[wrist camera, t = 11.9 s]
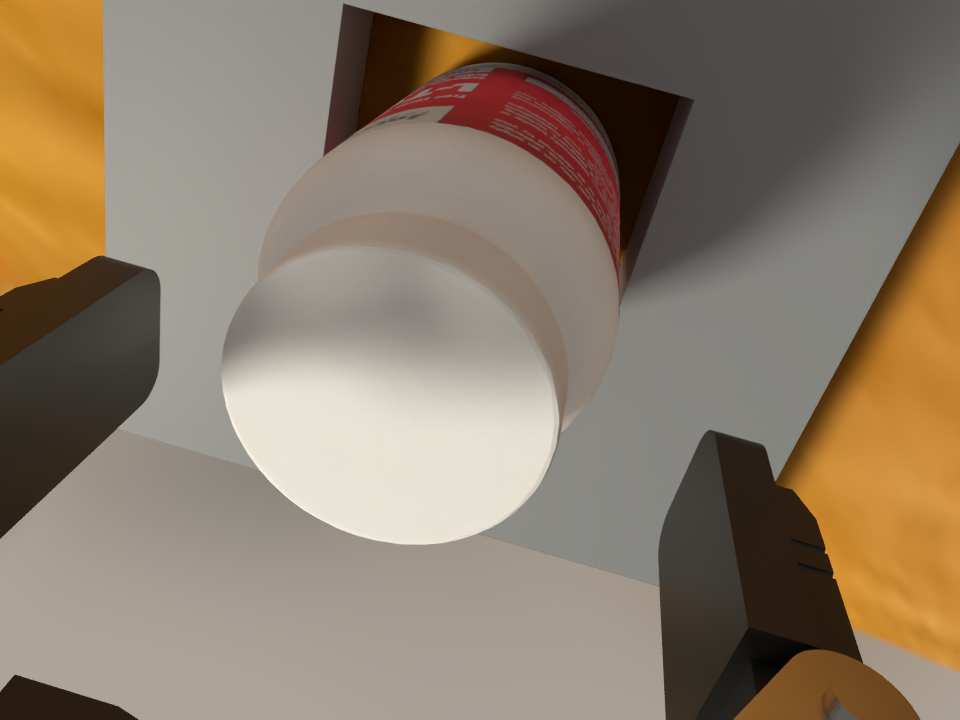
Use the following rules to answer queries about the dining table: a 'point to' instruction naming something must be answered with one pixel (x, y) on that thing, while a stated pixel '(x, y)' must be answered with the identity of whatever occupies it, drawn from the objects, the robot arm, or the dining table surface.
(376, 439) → the pill bottle
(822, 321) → the hole plate
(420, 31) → the dining table surface
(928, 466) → the dining table surface
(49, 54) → the dining table surface
